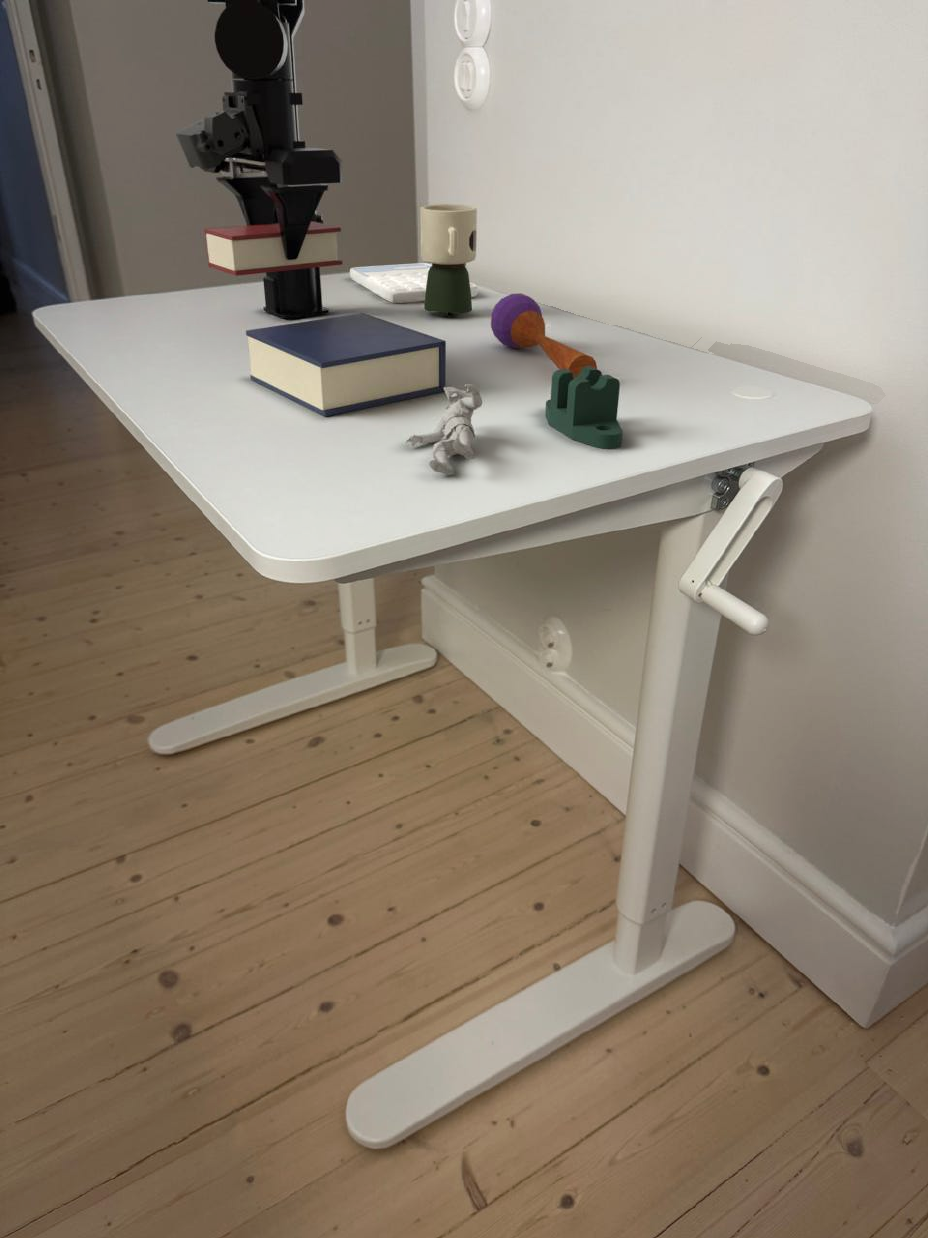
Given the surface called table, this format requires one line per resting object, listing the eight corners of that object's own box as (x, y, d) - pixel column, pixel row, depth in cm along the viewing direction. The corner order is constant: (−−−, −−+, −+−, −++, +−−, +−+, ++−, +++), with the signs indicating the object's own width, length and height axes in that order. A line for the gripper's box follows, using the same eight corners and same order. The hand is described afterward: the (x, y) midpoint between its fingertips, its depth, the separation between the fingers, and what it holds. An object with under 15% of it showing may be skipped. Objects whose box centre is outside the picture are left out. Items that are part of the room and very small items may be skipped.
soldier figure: (402, 487, 76) (396, 398, 84) (444, 517, 79) (435, 428, 87) (472, 428, 73) (459, 341, 81) (514, 462, 75) (498, 374, 83)
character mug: (481, 322, 122) (483, 212, 115) (425, 324, 121) (425, 213, 114) (468, 304, 131) (470, 201, 124) (417, 305, 130) (415, 202, 123)
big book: (364, 358, 106) (363, 312, 103) (445, 390, 96) (446, 340, 93) (250, 379, 98) (245, 330, 96) (325, 416, 88) (321, 362, 86)
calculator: (391, 304, 130) (391, 290, 129) (347, 278, 146) (347, 265, 145) (480, 297, 135) (480, 283, 134) (428, 272, 151) (428, 260, 150)
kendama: (553, 350, 94) (480, 294, 110) (558, 406, 98) (486, 344, 113) (607, 335, 95) (527, 281, 111) (610, 390, 99) (532, 331, 114)
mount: (531, 414, 90) (534, 360, 87) (573, 408, 91) (577, 356, 89) (591, 451, 81) (596, 393, 79) (636, 444, 83) (642, 387, 80)
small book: (312, 256, 103) (310, 220, 102) (342, 264, 99) (341, 227, 97) (208, 266, 97) (204, 228, 95) (236, 275, 93) (232, 236, 91)
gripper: (142, 78, 92) (165, 249, 100) (224, 79, 79) (244, 276, 87) (248, 79, 98) (262, 241, 106) (340, 80, 85) (349, 265, 93)
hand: (276, 254), depth 98 cm, fingers closed on small book, 6 cm apart
